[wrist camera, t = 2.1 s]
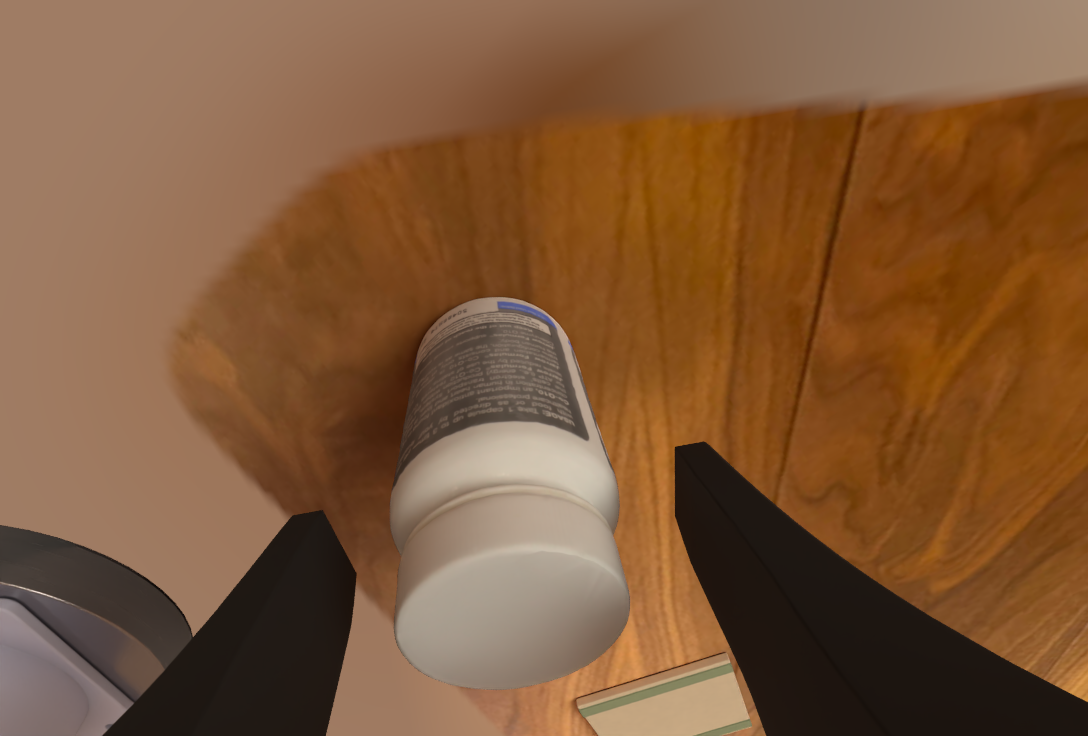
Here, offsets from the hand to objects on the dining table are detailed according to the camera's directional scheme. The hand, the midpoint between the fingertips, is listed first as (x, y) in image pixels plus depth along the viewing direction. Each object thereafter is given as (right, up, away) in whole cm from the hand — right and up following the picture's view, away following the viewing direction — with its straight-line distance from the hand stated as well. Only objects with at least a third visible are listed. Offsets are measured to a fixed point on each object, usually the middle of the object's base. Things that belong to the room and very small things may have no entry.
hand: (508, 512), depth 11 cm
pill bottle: (-1, +3, +5) cm, 6 cm away
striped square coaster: (+7, -16, +18) cm, 25 cm away
